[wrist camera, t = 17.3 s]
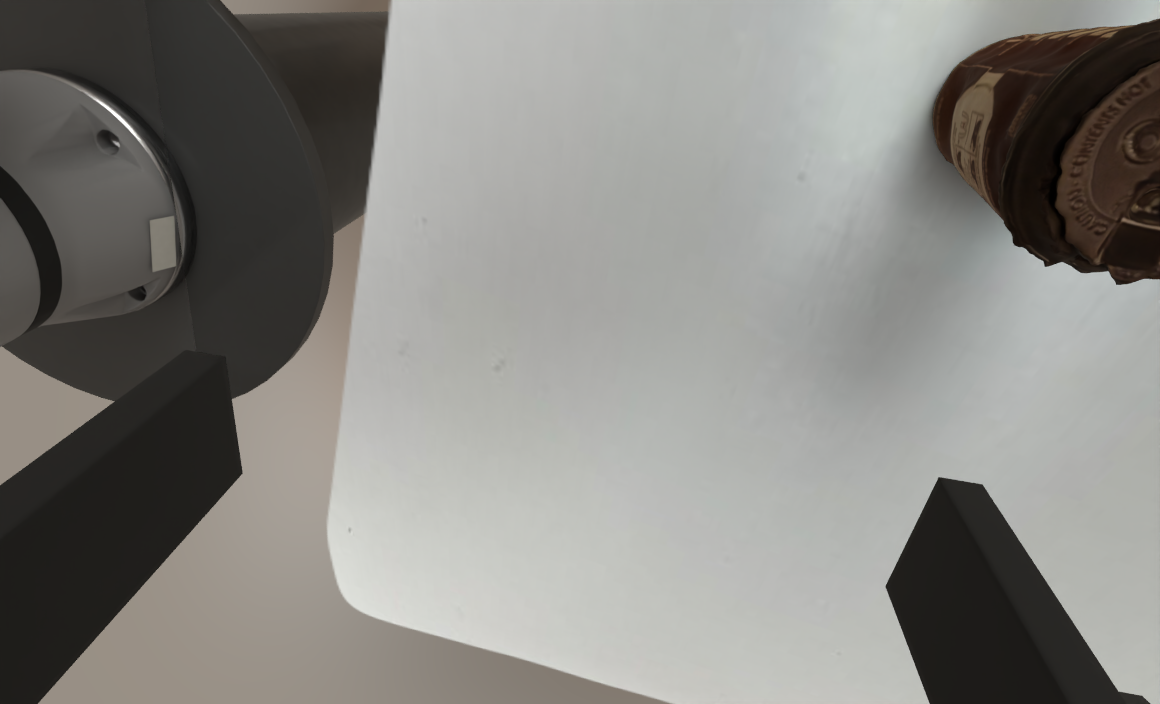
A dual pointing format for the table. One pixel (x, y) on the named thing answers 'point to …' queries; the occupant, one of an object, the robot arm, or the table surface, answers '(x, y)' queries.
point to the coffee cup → (1064, 143)
